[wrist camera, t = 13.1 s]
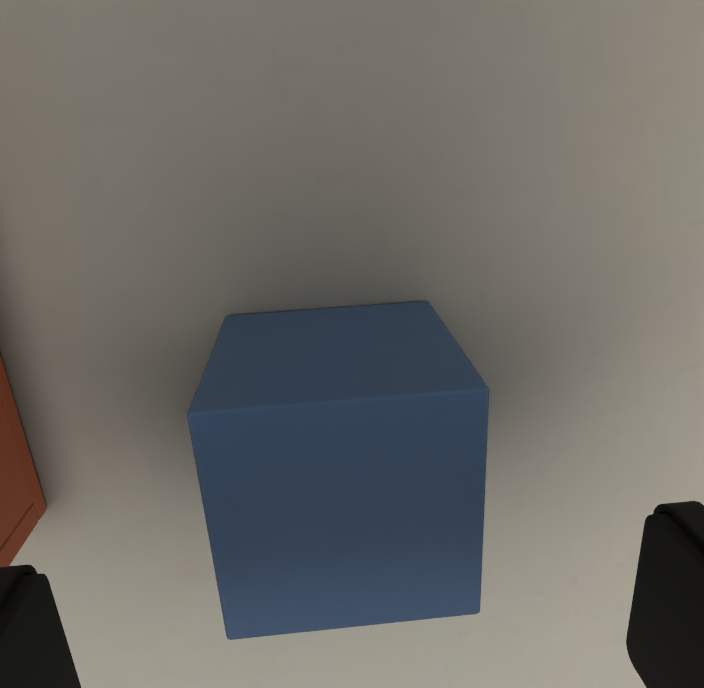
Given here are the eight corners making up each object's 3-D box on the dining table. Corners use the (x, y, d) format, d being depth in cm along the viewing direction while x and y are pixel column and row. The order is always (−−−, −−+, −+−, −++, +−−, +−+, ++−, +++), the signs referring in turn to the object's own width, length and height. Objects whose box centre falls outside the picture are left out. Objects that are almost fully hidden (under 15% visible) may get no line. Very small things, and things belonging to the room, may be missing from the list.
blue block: (224, 314, 14) (185, 413, 9) (428, 299, 14) (490, 387, 9) (249, 487, 16) (226, 642, 11) (428, 471, 16) (480, 615, 11)
